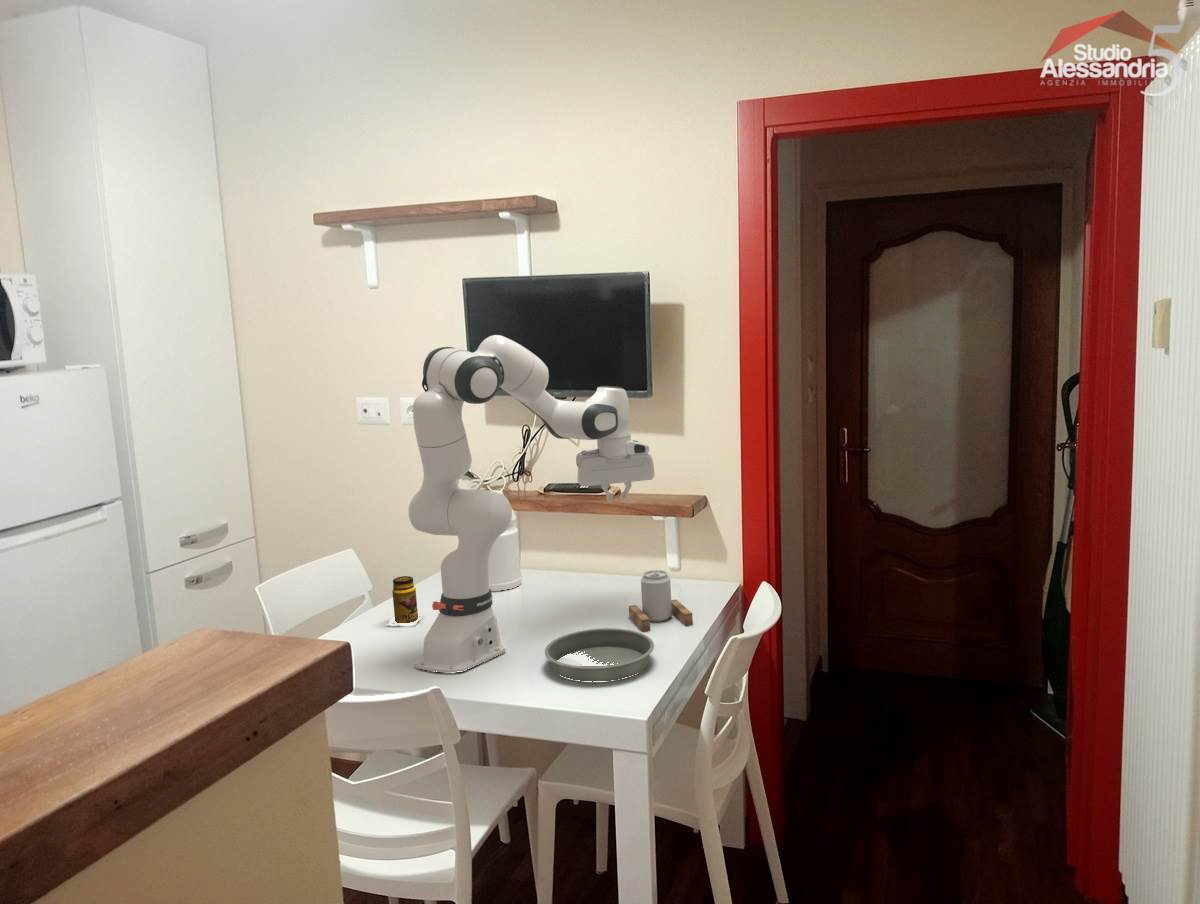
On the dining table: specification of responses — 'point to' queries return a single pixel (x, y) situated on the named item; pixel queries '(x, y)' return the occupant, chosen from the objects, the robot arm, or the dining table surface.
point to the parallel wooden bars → (644, 622)
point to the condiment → (404, 600)
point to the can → (656, 595)
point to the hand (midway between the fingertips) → (617, 499)
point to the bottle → (505, 559)
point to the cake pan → (601, 653)
